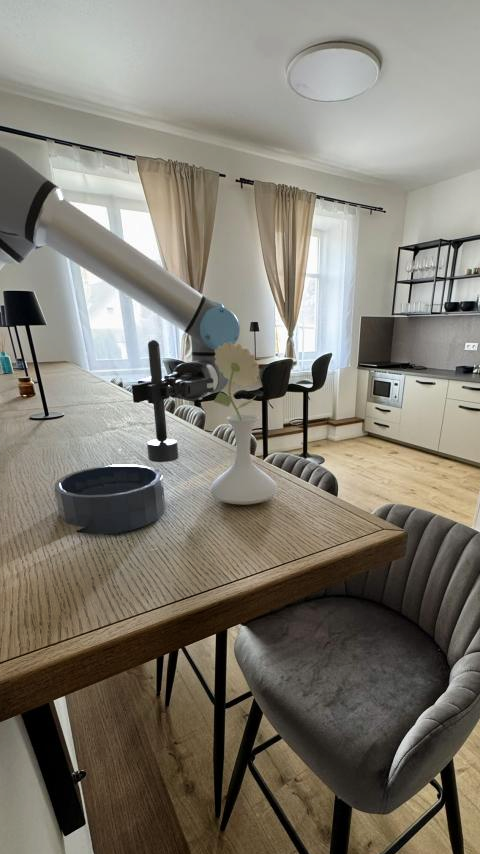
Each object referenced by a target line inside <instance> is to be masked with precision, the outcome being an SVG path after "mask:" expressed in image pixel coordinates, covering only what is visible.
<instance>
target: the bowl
mask: <svg viewBox="0 0 480 854" xmlns="http://www.w3.org/2000/svg"><path fill="white" fill-rule="evenodd" d="M53 486H54V493H55V498H56V503H57V508H58V513H59V518H60V519H61V520H62V521H64V522H65V523H66V524H69V525H73V526H76V527H82V528H79V529H77V530H76V531H74V532H75V533H78V534H86V535H87V534H88V535H106V534H107V535H108V534H117V533H123V532H127V531H128V532H129V531H133V530H136V529H140V528H142V527H145V526H147V525H149V524H151V523H154V522H155V521H157V520H159V519H160V518H161V517H162V516H163V515H164V514H165V511H166V499H165V490H164V479H163V474H162V473H161V471H160V470H158V469H156V468H154V467H151V466H145V465H140V464H139V465H138V464H111V465H101V466H94V467H90V468H85V469H80V470H76V471H75V472H70V473H67V474H66V475H64V476H62V477H60V478H59V479H58V480H57V481H56V482H55V483H54V485H53Z"/></svg>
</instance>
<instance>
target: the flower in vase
mask: <svg viewBox="0 0 480 854" xmlns="http://www.w3.org/2000/svg"><path fill="white" fill-rule="evenodd" d="M215 354H216V355H215V359H216V360H215V364H216V365H217V366H218V367H219V371H220V372H221V373H223V376H224V377H225V378H227V379H228V380H229V382H228V391H227V392H228V395H227V394H225V393H223V392H221V391H219V392H217V395H216V396H215V398H214V400H213V402H214V403H217V404H220V405H223V406H224V407H228V408H229V407H230V406H231V404H232V407H233V409H234V411H235V413H236V414H233V415H228V416H226V420H227V421H228V422H229V424H230V426H231V428H232V430H233V435H234V438H235V448H236V450H235V451H236V453H235V455H236V456H235V460H234V463H233V464H232V465H231V466H230V467H229V468H228V469H227V470H225V471H224V472H223V473H222V474H220V475H219V476H218V477H216V479H215V480H214V481H213V482H212V483H211V485H210V488H209V491H210V494H211V496H213V498H214V499H216V500H218V501H220V502H222V503H227V504H231V505H241V506H242V505H254V504H259V503H264V502H266V501H268V500H270V499H272V498H273V497H274V496H275V495H276V494H277V493H278V486H277V483H276V481H274V479H272V477H270V476H269V475H268V474H267V473H265V472H264V471H263V470H262V469H260V468H259V467H258V466H256V465H255V463H254V462H253V460H252V456H251V439H252V433H253V428H254V426H255V424H256V423H257V421H258V420H259V417H258V416H257V415H254V414H253V415H252V414H240V412H239V410H238V409H241V408H243V407H245V406H247V405H249V404H250V403H251V402H252V401H254V399H256V398H257V395H255V396H254V397H253V398H250V399H248V400H246V401H244V402H243V403H241V404H240V405H239V406H238V407H237V406H236V404H235V401H234V400H233V397H232V394H231V389H232V383H235V384H236V385H237V386H239V387H240V386H242V387H245V388H247V387H248V386H252V385H253V384H257V383H258V382H259V378H258V377H260V376H259V374H260V373H259V372H260V368H259V365H260V364H259V363H258V362H257V361H256V356H255V355H254V354H250V350H249V349H248V348H243V346H242V344H241V343H235V344H232V343H231V342H228V343H223V346H218V347H217V349H215Z"/></svg>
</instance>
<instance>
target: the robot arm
mask: <svg viewBox="0 0 480 854" xmlns="http://www.w3.org/2000/svg"><path fill="white" fill-rule="evenodd" d="M45 246H48V247H49V248H51V249H53V250H54V251H56V252H57V253H59V254H60V255H62V256H64V257H65V258H67V259H69V260H70V261H72V262H73V263H75V264H76V265H78V266H79V267H81V268H82V269H85V270H86V271H87V272H89V273H91V274H92V275H94V276H96V277H97V278H98V279H100V280H102V282H103V281H104V282H105V283H107V284H108V285H109V286H110V287H111V286H112V287H113V288H114V289H116V290H117V291H119V292H120V293H122V294H124V295H125V296H127V297H129V298H130V299H132V300H134V301H135V302H136V303H138V304H140V306H141V305H142V306H143V307H145V308H146V309H148V310H149V311H151V312H153V313H155V314H156V315H157V316H159V317H161V318H162V319H164V320H165V321H166V322H168V323H170V324H171V325H173V326H175V327H177V328H178V329H180V330H181V331H183V332H184V333H186V334H187V335H188V336H190V339H191V340H190V341H191V342H190V343H191V359H192V360H191V361H187V362H182V363H180V364H178V365H177V366H176V367H175V368H173V371H172V372H171V373H170V374H165V375H164V376H163V377H162V382H160V383H156V384H151V375H148V376H149V377H146V378H142V379H139V380H137V383H135V384H131V392H132V402H133V403H136V404H139V403H142V402H145V401H147V403H148V404H153V403H155V402H159V401H162V400H164V401H165V400H167V399H170V398H173V399H176V398H178V397H179V398H181V399H183V400H185V401H190V402H193V401H197V400H203V398H204V397H206V396H209V395H211V394H214V393H215V394H216V393H220V392H221V391H222V390H223V389H224V388H226V387H227V386H228V385H229V382H230V381H229V380H228V379H227V378H225V377H224V376H223V373H221V372H220V371H219V367H218V366H217V365H216V364H215V360H216V359H215V355H216V354H215V349H217V347H218V346H223V343H228V342H231V343H232V344H234V345H236V344H237V341H238V340H239V337H240V334H241V326H240V322H239V320H238V317H237V315H236V314H235V313H234V312H233V311H232V310H230V309H229V308H226V307H224V305H223V303H222V302H219V301H213V300H211V299H209V298H207V297H206V296H204V295H203V294H202V293H201V292H199V291H197V290H196V289H194V288H193V287H192V286H190V285H189V284H187V283H186V282H185V281H183V280H182V279H180V278H179V277H177V276H176V275H174V274H173V273H172V272H170V271H169V270H167V269H166V268H164V267H162V266H161V265H160V264H158V263H157V262H155V261H154V260H153V259H151V258H150V257H149V256H147V255H145V254H144V253H143V252H141V251H140V250H138V249H137V248H135V247H134V246H133V245H131V244H130V243H128V242H127V241H125V240H124V239H122V238H121V237H119V236H118V235H117V234H115V233H114V232H113V231H111V230H109V229H107V227H105V226H104V225H102V224H101V223H99V222H98V221H96V220H95V219H94V218H92V217H91V216H89V215H88V214H87V213H85V212H83V211H82V210H81V209H79V208H77V207H76V206H75V205H73V204H72V203H70V202H69V201H67V199H66V198H65V195H64V193H63V189H62V188H61V187H59V186H58V185H56V183H54V182H52V181H51V180H49V179H48V178H46V176H44V175H42V173H40V172H39V171H37V170H36V169H35V168H33V167H32V166H31V165H30V164H29V163H27V162H26V160H24V159H23V158H21V157H20V156H18V155H17V154H16V153H15V152H13V151H11V150H9V149H8V148H6V147H2V146H0V271H1V270H2V269H3V268H4V267H5V265H13V266H14V265H16V266H20V265H21V264H22V262H23V261H24V260H26V259H27V257H28V256H29V255H30V254H31V253H32V252H33V251H34V250H37V249H41V248H43V247H45Z"/></svg>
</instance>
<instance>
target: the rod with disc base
mask: <svg viewBox="0 0 480 854" xmlns="http://www.w3.org/2000/svg"><path fill="white" fill-rule="evenodd" d="M147 351H148V361H149V371H150V376H151V384H156V383H160V382H162V379H163V374H162V362H161V360H162V359H161V349H160V343H159V342H158V341H157V340H156V339H151V340H149V341H148V342H147ZM152 404H153V414H154V415H153V416H154V424H155V425H154V426H155V435H156V436H155V437H156V439H151V440H148V441H147V442H146V446H147V447H146V448H147V457H148V461H150V462H154V463H169V462H174V461H176V460H178V459H179V447H178V441H177V440H176V439H173V438H168V432H167V419H166V409H165V407H166V406H165V400H162V401H159V402H155V403H152Z"/></svg>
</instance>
